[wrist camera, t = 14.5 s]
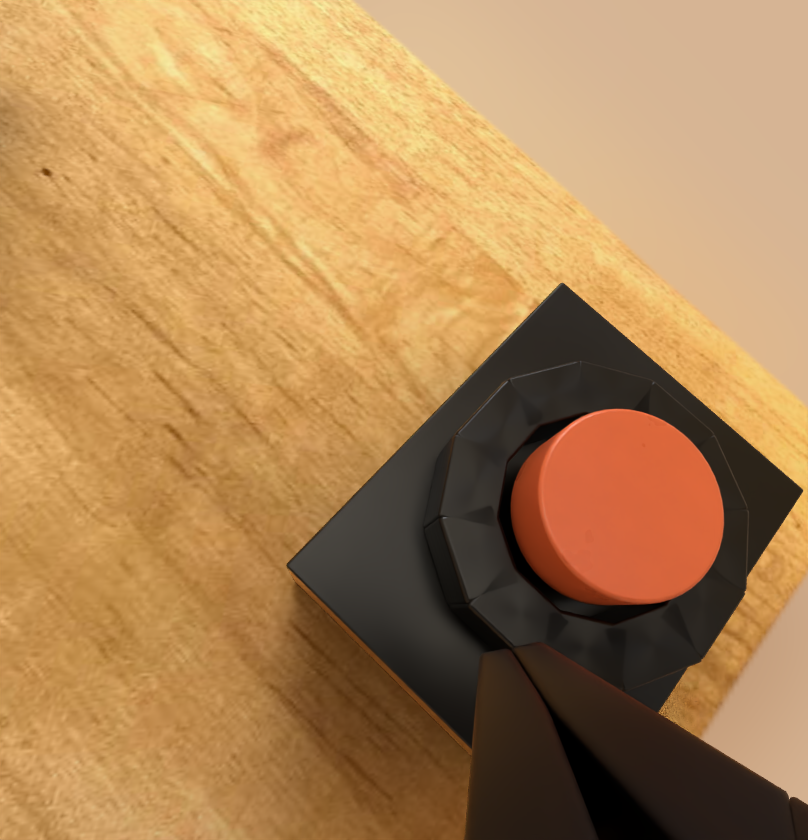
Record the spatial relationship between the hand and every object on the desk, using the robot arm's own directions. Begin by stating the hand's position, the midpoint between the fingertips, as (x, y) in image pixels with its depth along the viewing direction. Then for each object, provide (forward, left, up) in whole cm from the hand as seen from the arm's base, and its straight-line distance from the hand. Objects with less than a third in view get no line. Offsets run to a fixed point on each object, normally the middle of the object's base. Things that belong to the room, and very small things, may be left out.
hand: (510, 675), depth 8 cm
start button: (+3, -2, -4) cm, 5 cm away
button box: (+3, -2, -11) cm, 12 cm away
